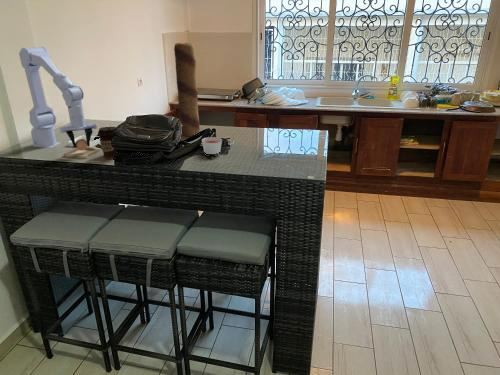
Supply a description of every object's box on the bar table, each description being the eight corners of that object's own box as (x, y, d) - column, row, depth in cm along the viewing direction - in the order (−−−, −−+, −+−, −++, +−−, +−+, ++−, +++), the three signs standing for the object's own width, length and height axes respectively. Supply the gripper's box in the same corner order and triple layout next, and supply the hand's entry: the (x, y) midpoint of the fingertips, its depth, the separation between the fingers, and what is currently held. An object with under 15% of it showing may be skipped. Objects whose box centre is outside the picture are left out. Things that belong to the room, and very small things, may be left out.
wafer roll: (175, 134, 204) (169, 42, 185) (189, 130, 212) (184, 41, 193) (189, 137, 198) (185, 44, 180) (203, 133, 206) (200, 43, 188)
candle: (211, 158, 171) (211, 144, 168) (198, 153, 177) (197, 140, 174) (226, 153, 177) (226, 140, 175) (212, 149, 183) (212, 136, 180)
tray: (64, 157, 169) (63, 154, 169) (79, 149, 179) (79, 146, 179) (86, 159, 167) (86, 156, 167) (101, 151, 177) (100, 148, 176)
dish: (68, 147, 182) (67, 141, 181) (82, 140, 192) (82, 135, 191) (90, 149, 180) (89, 143, 179) (103, 141, 190) (102, 137, 189)
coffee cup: (115, 161, 166) (111, 131, 161) (97, 159, 167) (92, 130, 162) (125, 154, 174) (121, 126, 168) (108, 153, 175) (104, 124, 170)
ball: (74, 151, 171) (71, 140, 169) (81, 147, 175) (79, 137, 173) (83, 152, 170) (81, 141, 168) (90, 148, 174) (88, 137, 172)
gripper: (59, 119, 159) (65, 151, 165) (96, 115, 167) (100, 146, 172) (56, 116, 165) (62, 147, 170) (92, 112, 172) (97, 142, 178)
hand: (81, 146), depth 172 cm, fingers closed on ball, 5 cm apart
